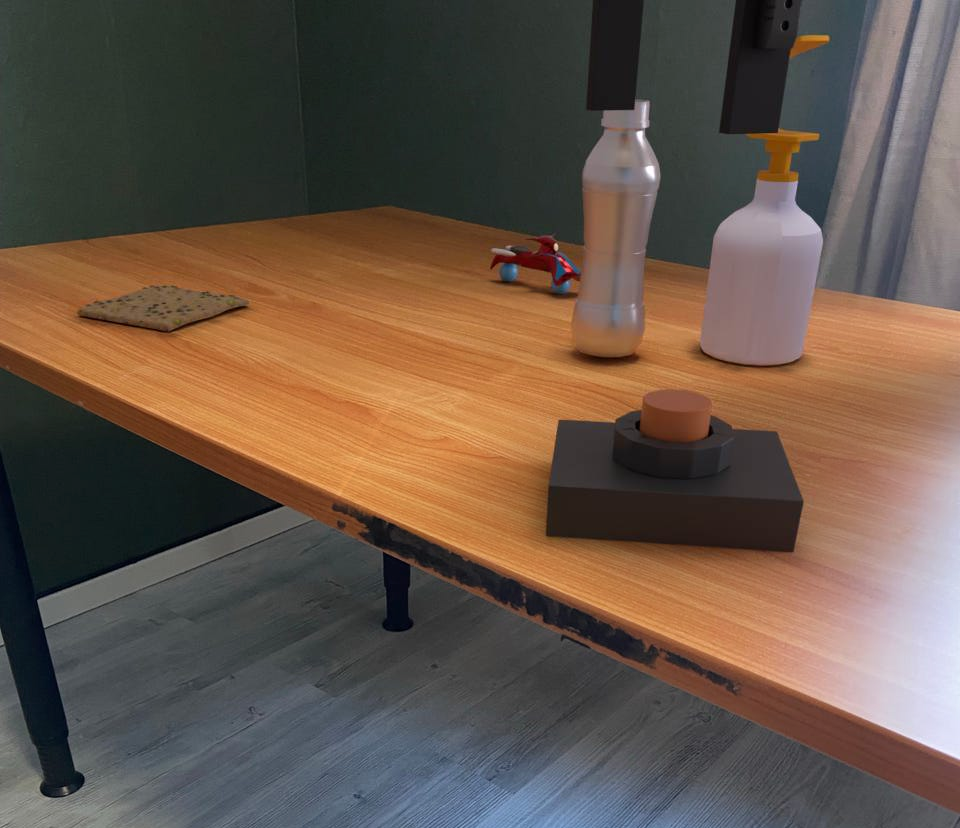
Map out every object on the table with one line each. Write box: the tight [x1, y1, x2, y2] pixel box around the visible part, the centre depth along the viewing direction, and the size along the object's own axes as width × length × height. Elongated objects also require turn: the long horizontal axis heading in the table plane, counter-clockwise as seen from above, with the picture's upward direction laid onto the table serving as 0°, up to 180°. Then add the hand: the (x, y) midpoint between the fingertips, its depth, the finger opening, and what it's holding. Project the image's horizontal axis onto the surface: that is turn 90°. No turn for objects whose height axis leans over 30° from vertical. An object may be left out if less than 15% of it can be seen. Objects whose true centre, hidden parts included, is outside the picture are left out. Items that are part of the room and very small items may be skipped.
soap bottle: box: [699, 34, 830, 367], centre depth 83 cm, size 9×9×25 cm
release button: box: [639, 389, 713, 442], centre depth 58 cm, size 4×4×2 cm
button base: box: [545, 409, 805, 553], centre depth 60 cm, size 14×11×5 cm
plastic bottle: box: [570, 98, 662, 358], centre depth 83 cm, size 6×7×20 cm
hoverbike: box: [489, 233, 581, 295], centre depth 109 cm, size 5×12×6 cm, turn 45°
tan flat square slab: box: [77, 285, 250, 332], centre depth 99 cm, size 12×12×1 cm
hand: (671, 121), depth 51 cm, fingers open, 13 cm apart
